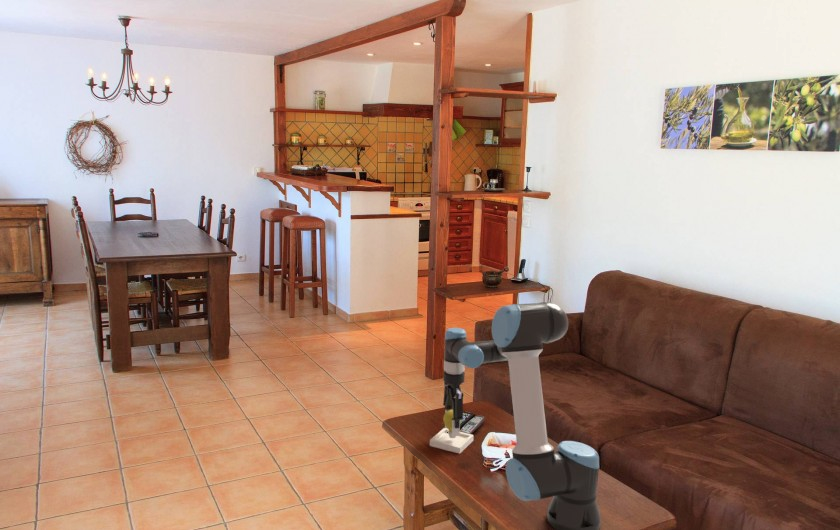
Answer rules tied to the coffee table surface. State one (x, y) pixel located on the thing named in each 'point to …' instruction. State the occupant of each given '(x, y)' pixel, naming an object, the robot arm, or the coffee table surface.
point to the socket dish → (451, 441)
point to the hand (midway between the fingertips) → (452, 431)
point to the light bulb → (449, 422)
